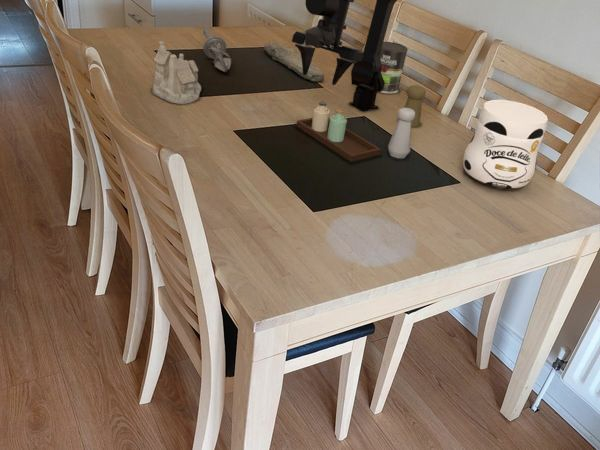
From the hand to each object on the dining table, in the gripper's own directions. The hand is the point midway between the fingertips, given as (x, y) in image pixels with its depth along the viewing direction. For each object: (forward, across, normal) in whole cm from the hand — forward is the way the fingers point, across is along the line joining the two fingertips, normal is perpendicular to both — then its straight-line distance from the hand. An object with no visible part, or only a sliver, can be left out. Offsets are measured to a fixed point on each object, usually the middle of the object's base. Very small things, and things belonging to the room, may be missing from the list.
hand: (318, 79), depth 155 cm
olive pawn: (+8, +16, +30) cm, 35 cm away
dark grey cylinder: (+4, -4, +50) cm, 50 cm away
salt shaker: (+13, +24, +7) cm, 29 cm away
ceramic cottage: (+16, -42, -5) cm, 45 cm away
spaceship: (+10, -57, +25) cm, 63 cm away
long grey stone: (+6, -37, +42) cm, 57 cm away
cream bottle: (+13, +1, +4) cm, 14 cm away
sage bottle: (+14, +8, +2) cm, 16 cm away
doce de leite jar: (+12, +48, +16) cm, 51 cm away
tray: (+14, +8, +2) cm, 17 cm away
